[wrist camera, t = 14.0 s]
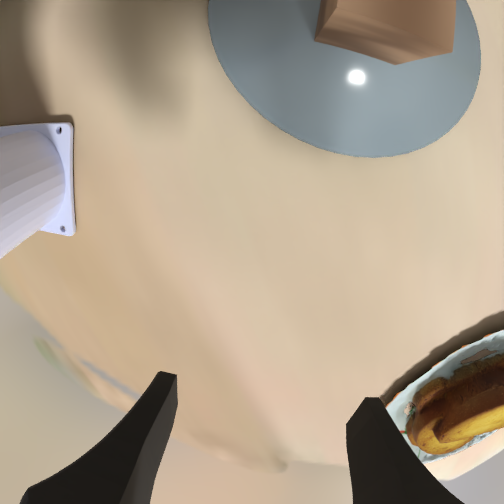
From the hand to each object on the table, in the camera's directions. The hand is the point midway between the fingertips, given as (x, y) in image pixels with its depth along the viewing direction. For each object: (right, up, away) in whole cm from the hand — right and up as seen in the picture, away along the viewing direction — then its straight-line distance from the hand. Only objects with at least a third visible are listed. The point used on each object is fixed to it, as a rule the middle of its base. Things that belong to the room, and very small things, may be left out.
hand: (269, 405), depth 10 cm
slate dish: (+5, +18, +2) cm, 19 cm away
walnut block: (+5, +18, +1) cm, 19 cm away
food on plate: (+25, -12, +16) cm, 32 cm away
